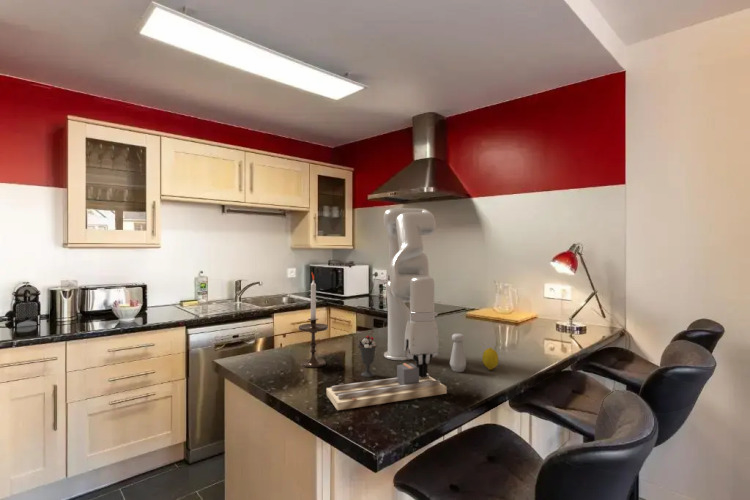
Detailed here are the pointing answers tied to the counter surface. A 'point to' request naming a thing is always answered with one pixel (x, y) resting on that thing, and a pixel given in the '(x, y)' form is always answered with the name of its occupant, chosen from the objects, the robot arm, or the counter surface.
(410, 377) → the fader knob
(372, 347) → the sundae
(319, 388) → the counter surface
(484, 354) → the lemon
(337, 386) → the fader board
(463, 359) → the salt shaker
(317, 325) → the candlestick
